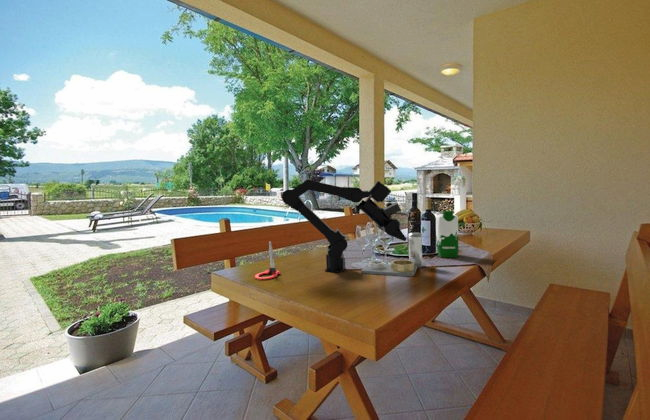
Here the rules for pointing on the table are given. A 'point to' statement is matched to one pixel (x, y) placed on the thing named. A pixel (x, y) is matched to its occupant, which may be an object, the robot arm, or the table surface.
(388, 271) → the fitting board
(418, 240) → the disc
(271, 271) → the tow hook
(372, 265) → the narrow aluminium socket
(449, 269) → the table surface
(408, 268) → the wide brass socket
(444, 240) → the milk carton
